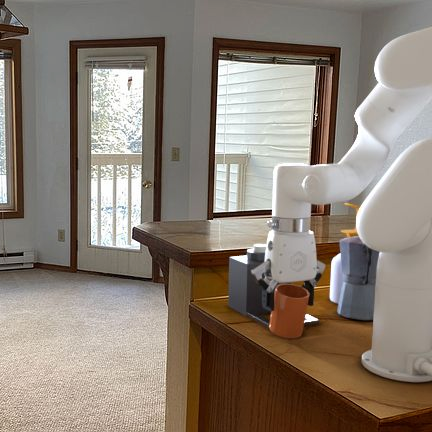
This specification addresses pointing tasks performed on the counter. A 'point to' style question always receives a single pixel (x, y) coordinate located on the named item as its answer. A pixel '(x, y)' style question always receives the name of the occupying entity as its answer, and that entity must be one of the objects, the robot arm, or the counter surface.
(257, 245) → the brew button
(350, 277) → the moka pot
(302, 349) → the counter surface
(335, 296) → the soap bottle
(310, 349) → the counter surface
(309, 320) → the cup bay
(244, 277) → the grey box with dial
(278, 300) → the cup
